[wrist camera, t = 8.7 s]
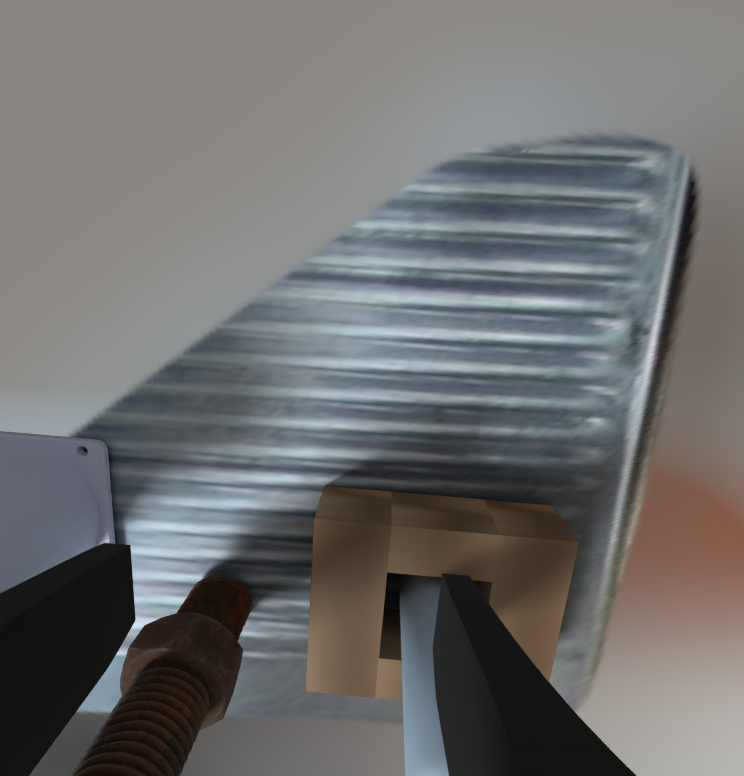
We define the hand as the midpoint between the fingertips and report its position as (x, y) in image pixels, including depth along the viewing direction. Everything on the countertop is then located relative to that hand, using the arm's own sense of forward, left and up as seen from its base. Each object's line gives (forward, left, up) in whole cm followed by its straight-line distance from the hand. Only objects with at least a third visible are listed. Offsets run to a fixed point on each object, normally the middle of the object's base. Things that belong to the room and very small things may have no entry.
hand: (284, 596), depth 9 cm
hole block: (+5, -7, -10) cm, 13 cm away
